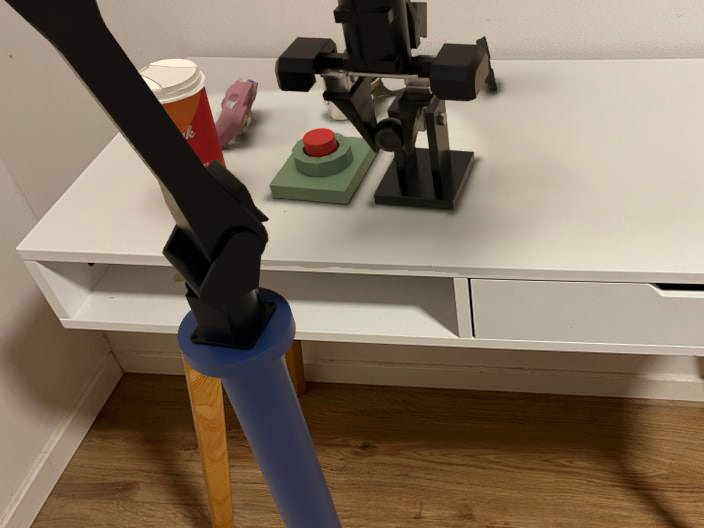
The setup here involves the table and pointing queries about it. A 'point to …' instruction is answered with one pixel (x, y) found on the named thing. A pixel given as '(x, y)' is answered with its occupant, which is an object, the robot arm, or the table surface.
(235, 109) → the pink toy car
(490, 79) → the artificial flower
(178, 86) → the paper cup
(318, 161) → the control block
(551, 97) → the table surface
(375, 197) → the bracket
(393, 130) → the lever
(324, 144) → the button
